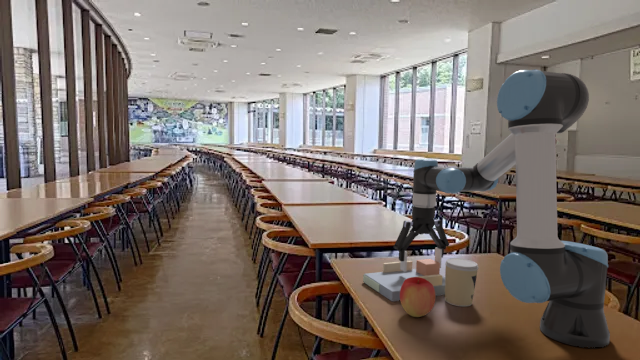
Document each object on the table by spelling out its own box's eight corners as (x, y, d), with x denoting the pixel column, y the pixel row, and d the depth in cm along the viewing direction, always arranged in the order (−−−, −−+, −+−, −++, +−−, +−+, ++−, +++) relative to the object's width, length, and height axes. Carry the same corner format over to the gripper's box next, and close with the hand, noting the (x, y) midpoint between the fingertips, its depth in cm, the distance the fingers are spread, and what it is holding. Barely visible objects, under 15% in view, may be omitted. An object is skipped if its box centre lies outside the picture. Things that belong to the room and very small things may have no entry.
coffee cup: (478, 309, 127) (482, 268, 125) (445, 306, 128) (448, 265, 126) (470, 297, 136) (474, 259, 135) (439, 294, 137) (442, 256, 136)
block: (439, 274, 148) (440, 263, 148) (425, 276, 146) (426, 264, 146) (429, 270, 153) (430, 258, 153) (416, 271, 151) (416, 260, 151)
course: (458, 292, 140) (459, 274, 139) (391, 301, 131) (392, 281, 130) (424, 275, 156) (425, 259, 156) (363, 282, 147) (363, 264, 147)
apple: (392, 310, 124) (393, 275, 123) (421, 307, 127) (423, 273, 126) (411, 324, 115) (412, 287, 114) (441, 320, 118) (443, 283, 117)
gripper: (447, 203, 154) (444, 262, 156) (385, 205, 145) (382, 268, 147) (462, 206, 147) (458, 268, 149) (397, 209, 138) (394, 275, 140)
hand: (420, 268), depth 148 cm, fingers open, 13 cm apart
